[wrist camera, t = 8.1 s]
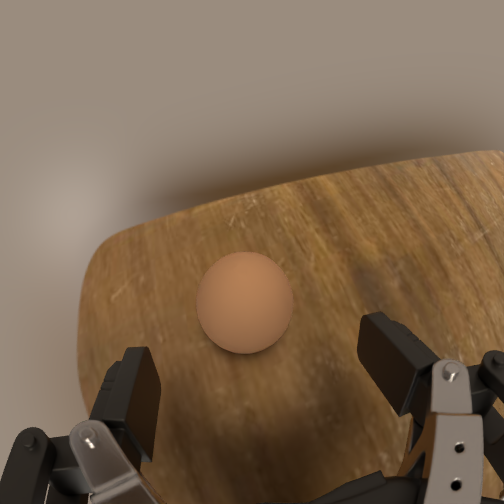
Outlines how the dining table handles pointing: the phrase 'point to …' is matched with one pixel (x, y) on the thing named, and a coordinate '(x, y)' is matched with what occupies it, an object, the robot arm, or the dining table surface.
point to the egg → (244, 302)
